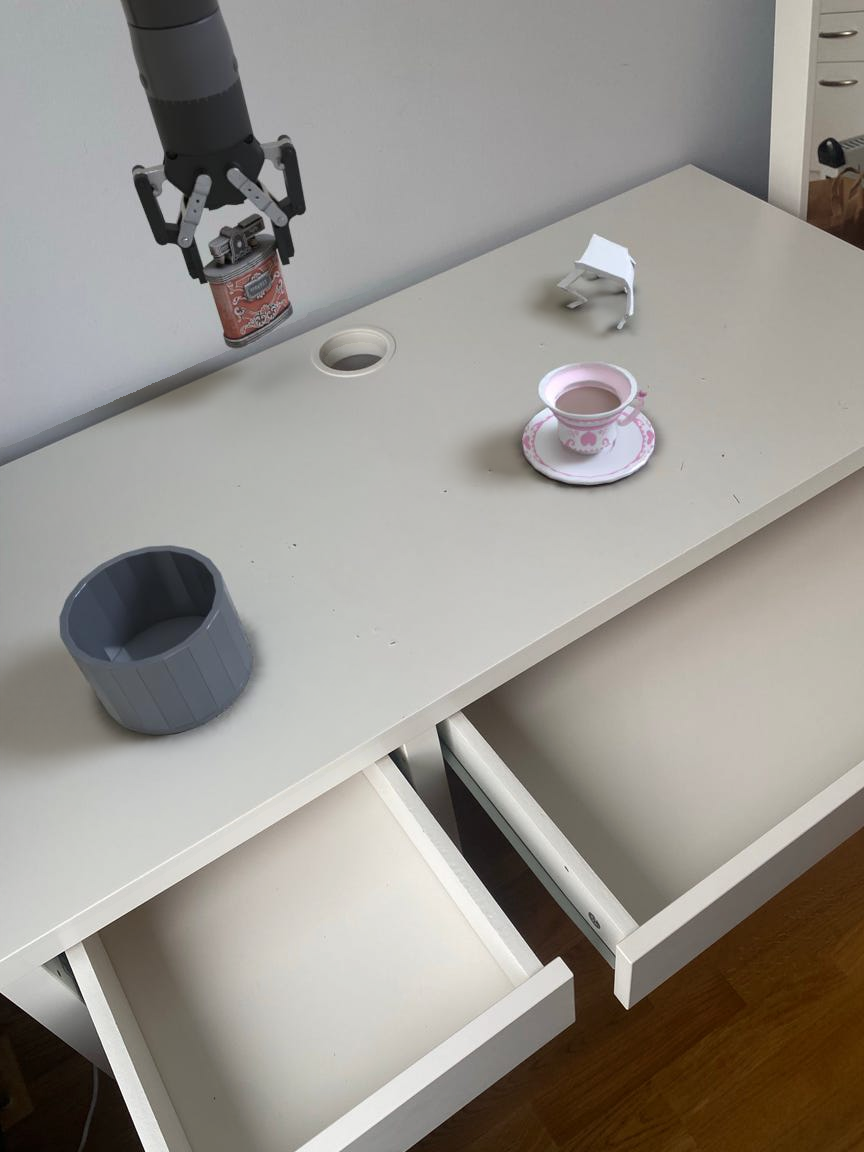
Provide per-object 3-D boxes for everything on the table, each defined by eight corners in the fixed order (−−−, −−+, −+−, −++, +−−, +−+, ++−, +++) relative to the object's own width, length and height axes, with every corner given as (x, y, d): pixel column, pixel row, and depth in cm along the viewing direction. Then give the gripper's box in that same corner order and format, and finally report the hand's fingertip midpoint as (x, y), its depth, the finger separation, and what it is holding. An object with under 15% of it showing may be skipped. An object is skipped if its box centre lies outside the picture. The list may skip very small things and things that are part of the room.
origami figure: (541, 294, 105) (540, 251, 101) (605, 268, 107) (606, 225, 103) (607, 346, 98) (608, 301, 94) (674, 317, 100) (677, 272, 96)
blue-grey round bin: (107, 754, 71) (62, 688, 65) (98, 639, 78) (56, 570, 72) (263, 707, 72) (234, 639, 66) (240, 599, 79) (211, 528, 73)
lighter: (241, 352, 92) (212, 253, 84) (217, 341, 93) (186, 242, 85) (301, 311, 95) (277, 212, 88) (276, 301, 97) (251, 203, 89)
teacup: (521, 490, 85) (518, 433, 80) (522, 405, 93) (519, 348, 88) (660, 484, 84) (665, 427, 79) (649, 399, 92) (653, 342, 87)
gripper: (271, 43, 80) (312, 234, 93) (96, 77, 78) (162, 268, 91) (287, 76, 76) (328, 273, 88) (102, 113, 74) (170, 308, 86)
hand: (244, 270), depth 90 cm, fingers closed on lighter, 7 cm apart
